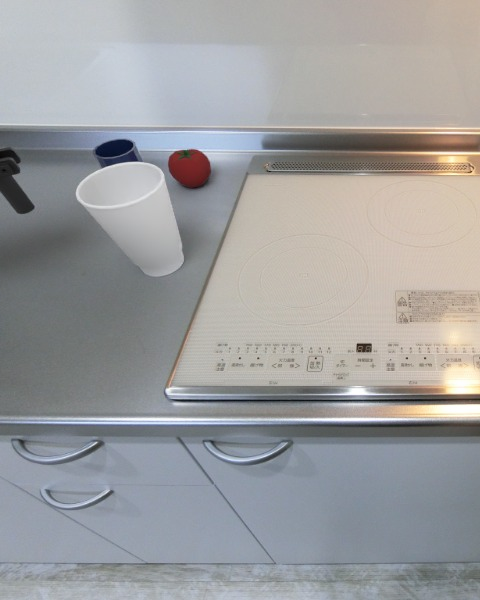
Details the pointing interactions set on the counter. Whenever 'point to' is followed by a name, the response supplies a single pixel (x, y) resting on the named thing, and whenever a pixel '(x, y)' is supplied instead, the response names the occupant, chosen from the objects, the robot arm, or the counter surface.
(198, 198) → the counter surface
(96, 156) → the pen pot
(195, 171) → the tomato
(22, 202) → the marker
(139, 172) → the cup
